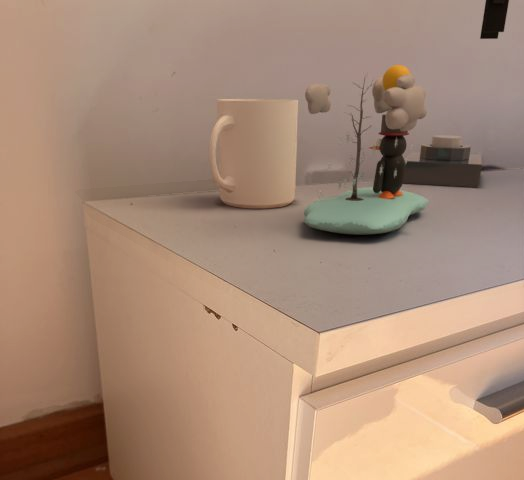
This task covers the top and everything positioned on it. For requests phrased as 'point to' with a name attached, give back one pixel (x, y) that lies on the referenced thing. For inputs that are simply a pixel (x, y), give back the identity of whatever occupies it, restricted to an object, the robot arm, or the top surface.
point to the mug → (255, 152)
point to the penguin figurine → (388, 168)
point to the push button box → (443, 166)
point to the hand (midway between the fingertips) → (490, 35)
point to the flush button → (446, 141)
